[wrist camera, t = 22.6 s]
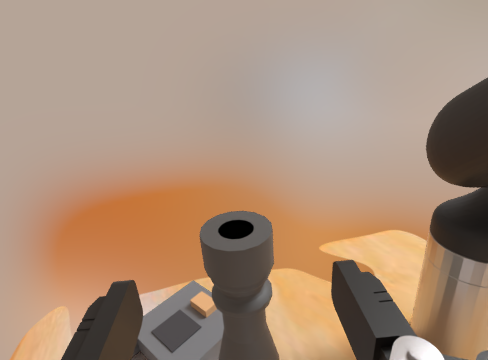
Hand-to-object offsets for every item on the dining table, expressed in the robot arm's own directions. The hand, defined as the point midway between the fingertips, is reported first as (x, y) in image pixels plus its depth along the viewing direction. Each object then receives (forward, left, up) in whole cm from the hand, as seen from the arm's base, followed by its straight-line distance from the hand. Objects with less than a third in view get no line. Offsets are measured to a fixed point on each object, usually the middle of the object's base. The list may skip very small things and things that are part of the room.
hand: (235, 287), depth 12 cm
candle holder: (-8, -7, -29) cm, 31 cm away
